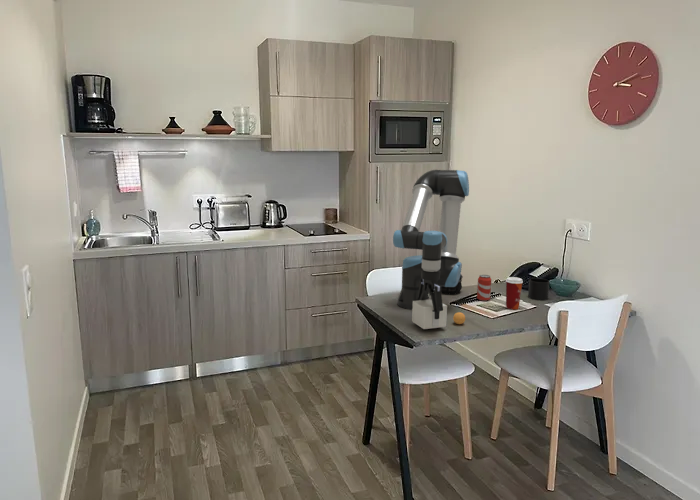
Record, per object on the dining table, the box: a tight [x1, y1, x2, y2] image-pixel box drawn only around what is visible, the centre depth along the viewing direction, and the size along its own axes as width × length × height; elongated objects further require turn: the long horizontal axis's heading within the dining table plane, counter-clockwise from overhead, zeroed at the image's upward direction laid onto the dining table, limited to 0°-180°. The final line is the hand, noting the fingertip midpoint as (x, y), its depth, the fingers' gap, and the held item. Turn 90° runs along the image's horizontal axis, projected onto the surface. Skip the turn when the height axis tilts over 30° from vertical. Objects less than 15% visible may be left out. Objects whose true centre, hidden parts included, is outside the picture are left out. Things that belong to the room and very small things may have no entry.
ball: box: [452, 311, 466, 325], centre depth 221 cm, size 5×5×5 cm
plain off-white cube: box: [411, 298, 448, 330], centre depth 215 cm, size 10×10×9 cm
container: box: [441, 274, 464, 296], centre depth 271 cm, size 13×13×10 cm
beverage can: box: [476, 274, 492, 302], centre depth 257 cm, size 6×6×12 cm
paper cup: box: [505, 276, 524, 311], centre depth 244 cm, size 8×8×14 cm
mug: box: [527, 277, 550, 301], centre depth 263 cm, size 9×12×9 cm
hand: (428, 322), depth 216 cm, fingers closed on plain off-white cube, 10 cm apart
